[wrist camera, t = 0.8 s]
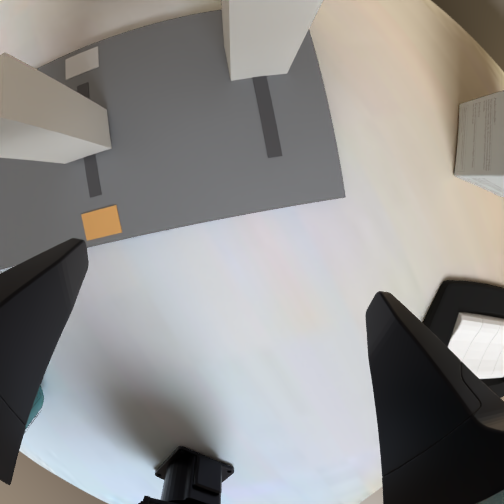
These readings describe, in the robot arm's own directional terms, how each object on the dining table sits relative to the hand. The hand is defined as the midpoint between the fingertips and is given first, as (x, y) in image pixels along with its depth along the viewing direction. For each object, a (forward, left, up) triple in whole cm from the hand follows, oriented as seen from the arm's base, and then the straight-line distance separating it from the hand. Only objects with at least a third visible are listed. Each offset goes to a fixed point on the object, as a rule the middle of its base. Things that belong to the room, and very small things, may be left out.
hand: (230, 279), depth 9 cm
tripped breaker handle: (0, +13, -12) cm, 18 cm away
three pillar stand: (0, +13, -14) cm, 19 cm away
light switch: (+4, -29, -14) cm, 32 cm away
